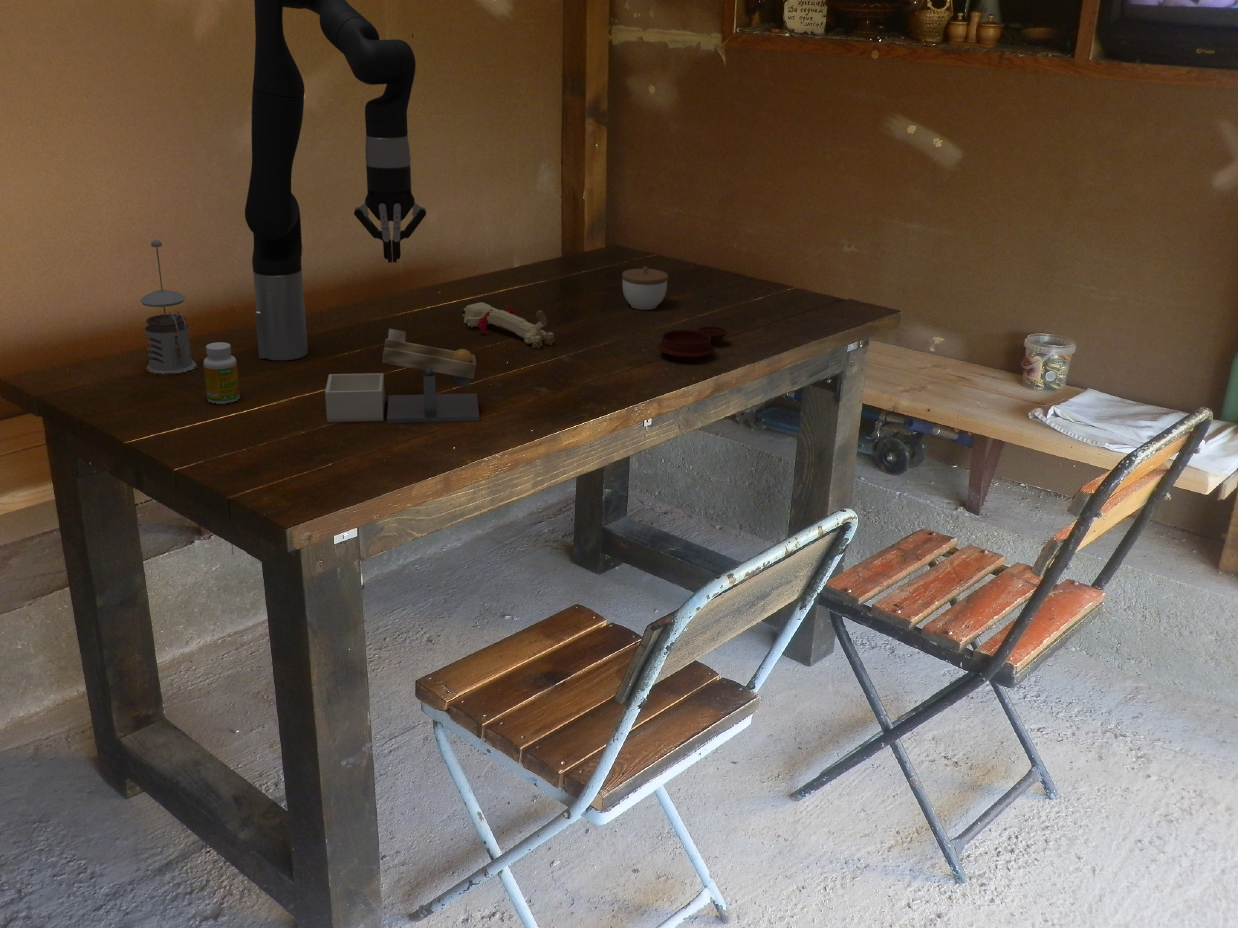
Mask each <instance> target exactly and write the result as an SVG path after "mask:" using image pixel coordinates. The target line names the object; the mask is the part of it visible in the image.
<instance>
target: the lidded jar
mask: <svg viewBox="0 0 1238 928" xmlns="http://www.w3.org/2000/svg"><path fill="white" fill-rule="evenodd" d="M621 279H622V292H623V296H624V298H625V300H626V301H627V303H628V304H630V307H631V308H633V309H636V310H643V311H648V310H654V309H656V308H658V307H657V306H659V305H660V304H661V303H662V301H663V300H664V298H665V297H666V294H667V293H666V292H667V290H668V289H667V287H668V279H669V275H668V273H666V272H665V271H662V270H658V269H653V268H649V267H648V266H643V267H642V268H632V269H627V270H625V271H623V272H622V274H621Z"/></svg>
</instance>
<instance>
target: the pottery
mask: <svg viewBox="0 0 1238 928" xmlns="http://www.w3.org/2000/svg"><path fill="white" fill-rule="evenodd" d="M727 333H728V331H727V329H725V328H723V327H718V326H703V327H699V328H698V329H696V330H693V329H673V330H669V331H666V332H664V333H663V334H661V342H659V343H658V344H657V349H658V351H660V352H662V353H664V354H666V355H670V357H671V358H672V359H674V360H677V361H682V360H684V361H683V362H685V361H686V362H688V361H689V360H693V361H697V360H699V359H700V358H701V357H703V356H704V357H705V356H708V355H710V354H712V353H714V351H715V347H716V346H719V342H721V341H722V340H723V339H724V337H726V336H727ZM696 359H697V360H696ZM689 362H690V361H689Z"/></svg>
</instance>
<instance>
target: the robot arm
mask: <svg viewBox="0 0 1238 928" xmlns="http://www.w3.org/2000/svg"><path fill="white" fill-rule="evenodd" d="M253 1H254V3H253V4H254V25H255V26H254V27H255V30H254V31H255V45H254V46H255V47H254V48H255V49H254V68H253V80H252V81H253V82H252V95H251V169H250V170H251V171H250V178H249V183H248V191H247V196H246V202H245V207H244V218H245V221H246V224H247V227H248V229H249V230H250V231H251V233H252V234H253V235H252V236H253V253H252V258H251V262H252V263H251V264H252V273H253V274H252V275H253V283H254V295H255V307H256V308H255V312H254V318H255V328H256V338H257V348H258V359H265V358H267V359H266V360H272V361H290V360H296V359H301V358H303V357H305V356H307V355H308V354H309V351H308V350H309V349H308V335H307V324H306V323H307V321H306V309H305V296H304V294H305V293H304V283H303V270H302V269H303V268H302V257H303V256H302V255H303V242H302V241H303V240H302V224H301V210H300V205H299V203H298V202H299V201H298V200H297V198H296V197H295V195H294V194H293V193H292V172H293V166H294V159H295V155H296V152H297V148H298V143H299V140H300V135H301V130H302V124H303V118H304V108H305V107H304V105H305V89H306V88H305V82H304V79H303V77H302V74H301V72H300V69H299V68H298V65H297V64H296V61H295V59H294V58H293V55H292V53H291V51H290V49H289V47H288V44H287V41H286V37H285V34H284V25H283V24H284V22H283V20H284V19H283V11H284V10H283V9H284V8H289V9H296V10H303V9H306V10H309V11H311V12H313V13H315V14H317V15H318V16H319V25H320V29H321V31H322V34H323V36H325V38H326V39H327V40H328V42H330V44H332V45H333V47H335V48H336V49H337V50H338V51H339V52H340V53H342V54H343V56H344V58H345V60H346V62H347V64H348V66H349V67H350V70H351V73H352V74H353V76H354V77H355V78H356V79H357V80H358V81H360V82H362V83H363V84H365V85H371V86H374V85H375V86H378V85H386V86H385V89H384V91H383V94H382V95H380V96H378V97H375V98H373V99H370V100H368V101H367V102H366V103H365V106H364V119H365V120H364V121H365V123H364V124H365V135H366V136H365V151H364V152H365V168H366V170H365V171H366V188H367V189H366V191H367V194H366V196H365V200H364V203H362V204H361V205H360V206H357V207H355V209H354V211H353V214H354V216H355V218H356V219H357V220H358V221H359V222H360V223H361V224H362V226H363V227H364V228H365V230H366V231H368V233H369V234H370V235H371V237H372V238H373V239H378V240H381V241H382V244H383V245H382V246H383V247H382V248H383V258H384V260H387V264H388V263H397V262H398V260H400V259H401V256H402V255H401V253H402V252H401V241H402V240H405V239H409V238H410V237H411V235H412V234H413V233H414V232H415V231H416V229H417V228H418V226H419V225H420V224H421V222H422V221H423V219H425V217H426V216H427V209H426V208H425V207H423V206H420V205H419V204H418V203H417V202H416V201H415V197H414V195H413V193H412V176H411V175H412V172H411V170H412V169H411V160H412V159H411V150H410V148H411V147H410V143H409V135H408V134H409V133H408V132H409V131H408V107H409V103H410V99H411V98H410V97H411V93H412V89H413V84H414V80H415V79H414V78H415V75H416V67H417V65H416V64H417V62H416V57H415V54H414V51H413V49H412V47H411V46H410V44H409V43H408V42H407V41H404V40H403V39H397V38H396V39H395V38H394V39H380V35H379V33H378V32H379V31H378V30H377V29H376V26H374V25H373V24H372V23H371V22H370V21H369V20H368V19H367V18H366V17H364V16H363V15H362V14H361V13H360V12H359V11H357V10H356V9H355V8H354V7H353V6H351V4H349V2H347V0H253ZM411 210H412V212H411V215H412V219H411V220H410V221H409V223H408V224H407V225H406V226H405V228H404V229H402V230H401V226H402V225H401V223H402V221H404V219H405V218H406V217H407V216H408V214H409V212H410V211H411ZM369 211H370V212H371V213H372V214H373V216H374V217H375V218H376V219H377V220H378V221H380V227H381V229H379V228H378V227H377V226H376V225H375V224H374V222H373V221H372V220H371V219H370V217H369V214H370V212H369ZM390 222H393V223H392V225H393V226H392V239H391V233H390V232H391V231H390V230H391V229H390Z"/></svg>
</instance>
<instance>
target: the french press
mask: <svg viewBox="0 0 1238 928" xmlns="http://www.w3.org/2000/svg"><path fill="white" fill-rule="evenodd" d="M150 246H151V247H152V248H156V257H157V265H158V274H159V281H160V290H159V289H158V290H155V291H152V292H150V293H148V294H145V295H144V296H143V297H142V298H141V299H140V301H139V302H140V303H141V304H142V305H143V306H145V307H149V308H150V307H152V308H163V313H164V314H158V315H157V314H156V315H153V316H151V317H149V318H148V317H147V318H146V320H145V323H146V324H147V325H146V326H145V327H144V332H145V339H149V338H150V339H149V340H147V341H146V346H148V347H147V352H150V351H151V352H150V353H148V358H149V360H148V365H146V367H147V369H148V370H149V371H150V372H154V373H162V374H164V373H181V372H186V371H188V370H192V369H194V367H196V366H197V365H198V364H197V363H196V361H194V360H193V359H192V351H191V350H192V349H191V343H190V342H191V341H190V332H189V325H188V324H187V323H186V317H185V316H183V314H182V312H181V311H180V310H179V309H177V314H173V312H171V311H169V312H168V314H166V313H167V312H166V307H173V306H177V305H180V304H182V303H184V301H185V300H186V298H187V297H186V296H185V295H183V294H182V293H180V292H177V291H174V290H169V289H163V288H164V287H163V282H162V273H161V266H160V258H159V257H160V255H159V248H161V247H163V244H162V241H160V240H159V239H154V240H152V241H151V243H150ZM176 333H177V335H175V334H176ZM176 340H177V341H176ZM149 345H150V346H149ZM177 353H179V354H177ZM150 358H151V359H150ZM196 364H197V365H196Z"/></svg>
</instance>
